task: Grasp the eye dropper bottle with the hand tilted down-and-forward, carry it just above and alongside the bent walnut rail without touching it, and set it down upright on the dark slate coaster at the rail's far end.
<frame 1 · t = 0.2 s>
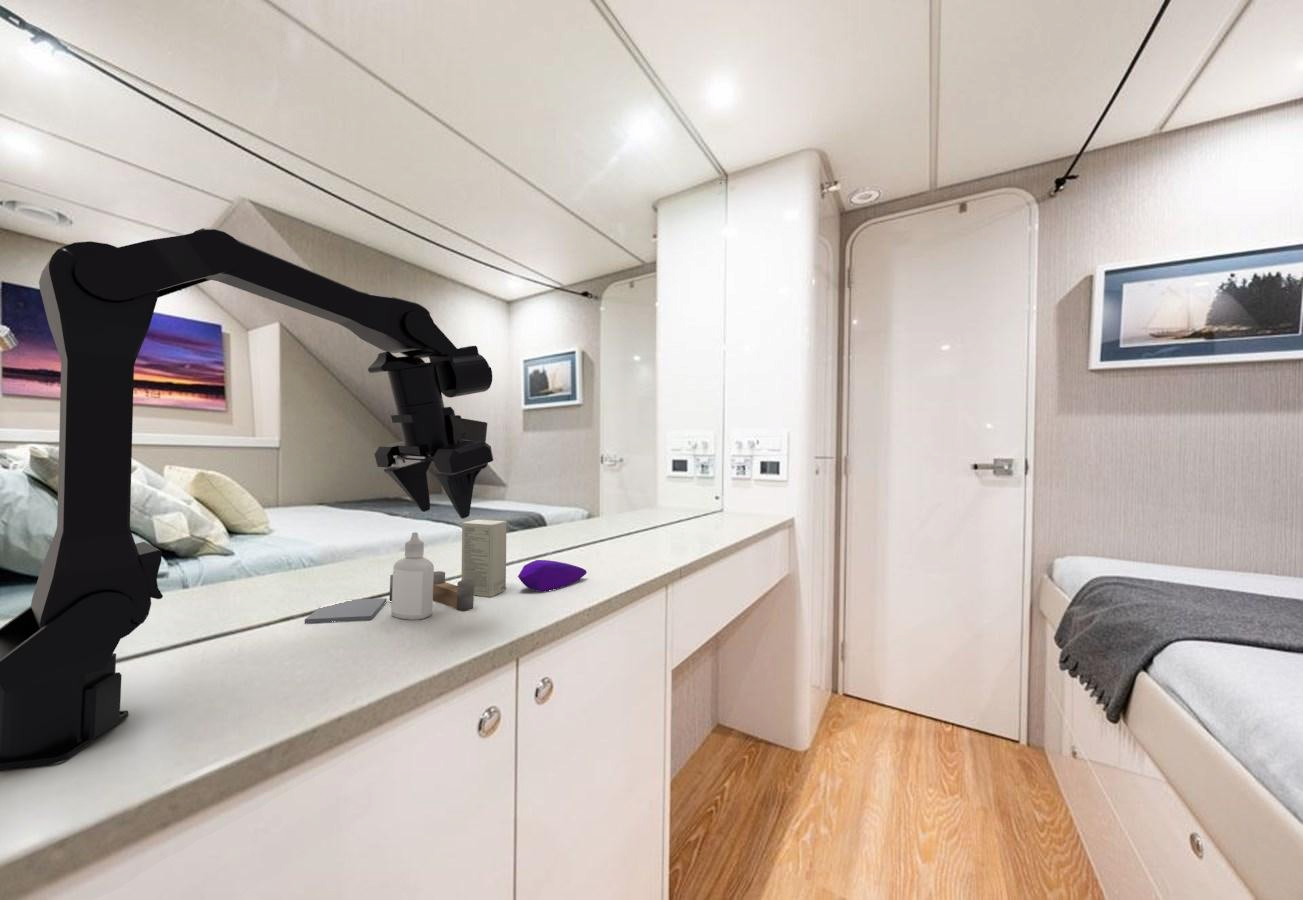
hand: (445, 513, 65), 15 cm above the worktop, tool tilted 15°, fingers open, 9 cm apart
coaster: (348, 612, 68), on the worktop
eye dropper bottle: (411, 617, 68), on the worktop
rail: (436, 597, 76), on the worktop
skincare box: (482, 593, 80), on the worktop
purple faceted pebble: (553, 587, 85), on the worktop
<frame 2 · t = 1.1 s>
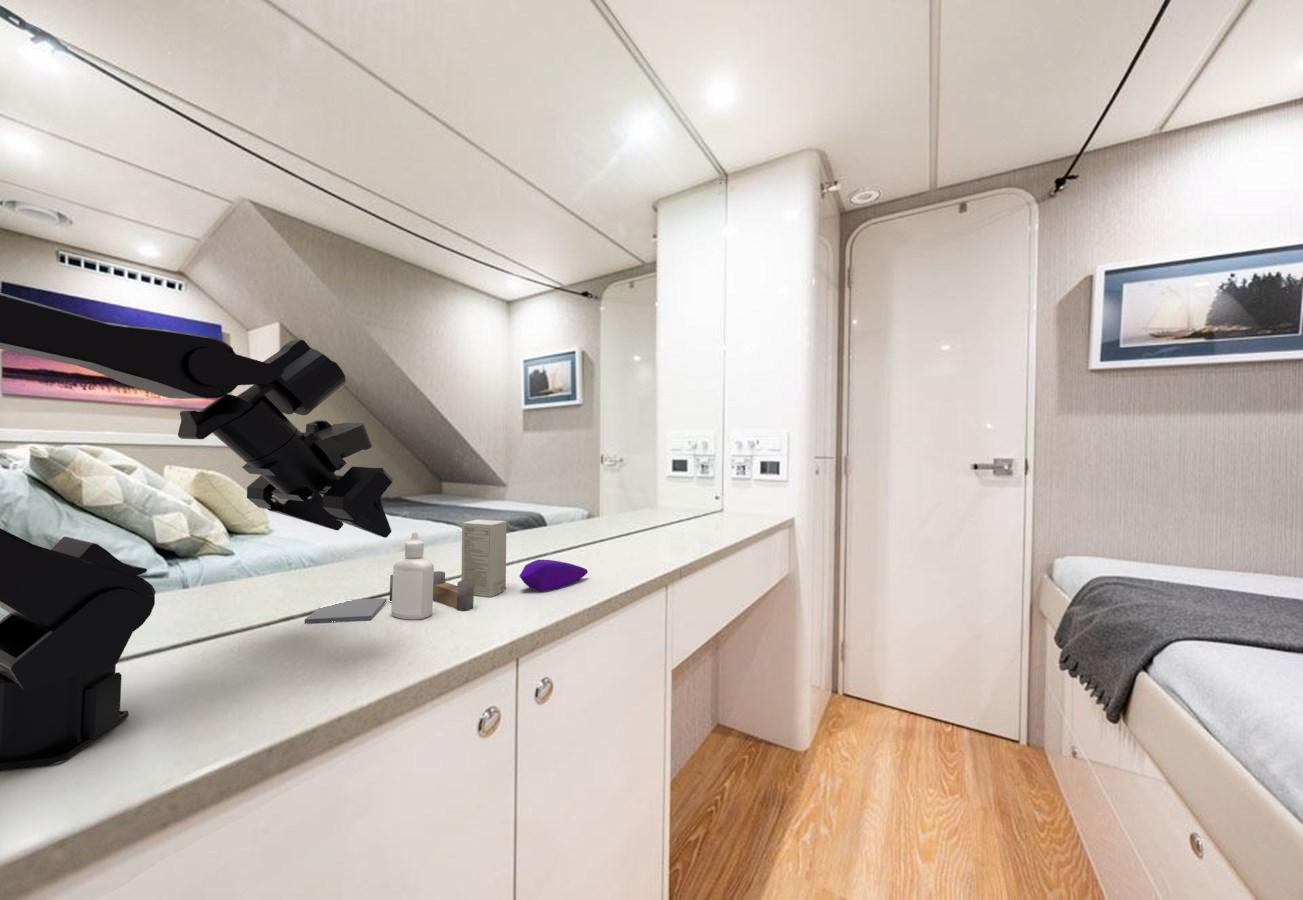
hand: (363, 531, 61), 13 cm above the worktop, tool tilted 45°, fingers open, 9 cm apart
nothing on the worktop moved.
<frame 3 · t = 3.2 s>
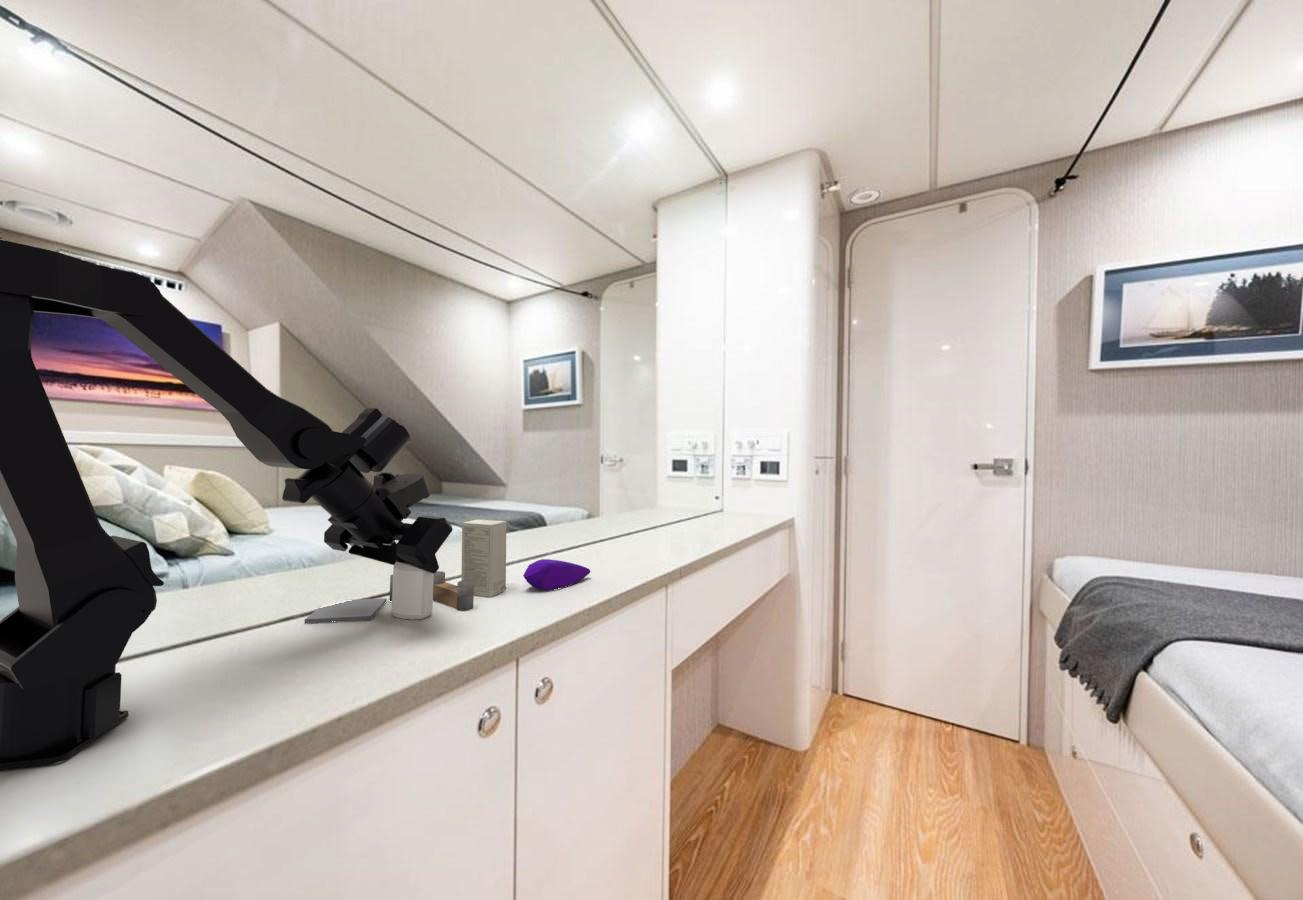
hand: (421, 567, 69), 7 cm above the worktop, tool tilted 45°, fingers closed on eye dropper bottle, 6 cm apart
eye dropper bottle: (411, 616, 68), on the worktop, touching gripper
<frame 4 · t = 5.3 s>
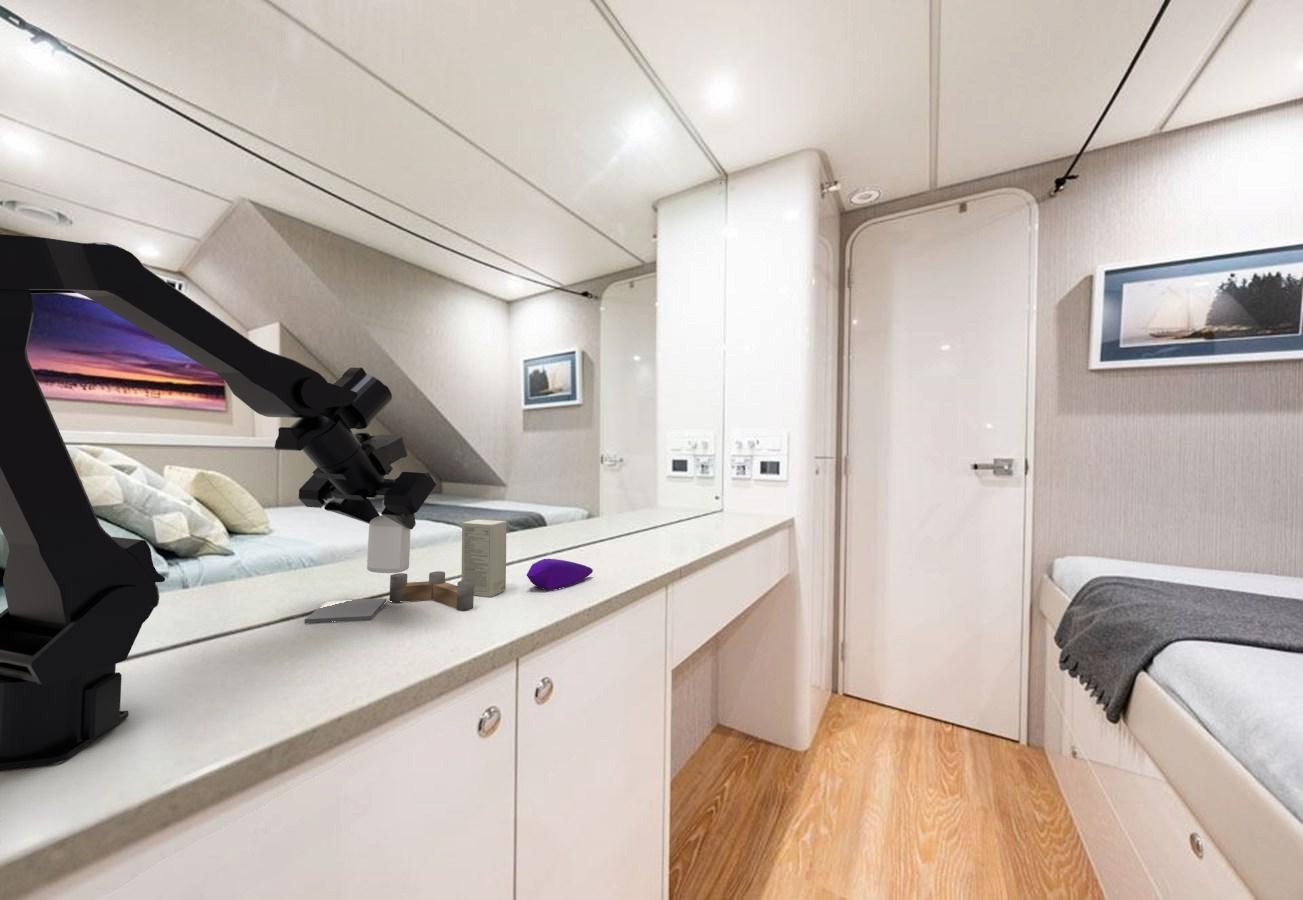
hand: (396, 525, 72), 12 cm above the worktop, tool tilted 45°, fingers closed on eye dropper bottle, 6 cm apart
eye dropper bottle: (388, 571, 71), point 5 cm above the worktop, touching gripper
when the fingers open (8 cm above the worktop, at t = 7.5 s): eye dropper bottle stays where it is, resting on coaster.
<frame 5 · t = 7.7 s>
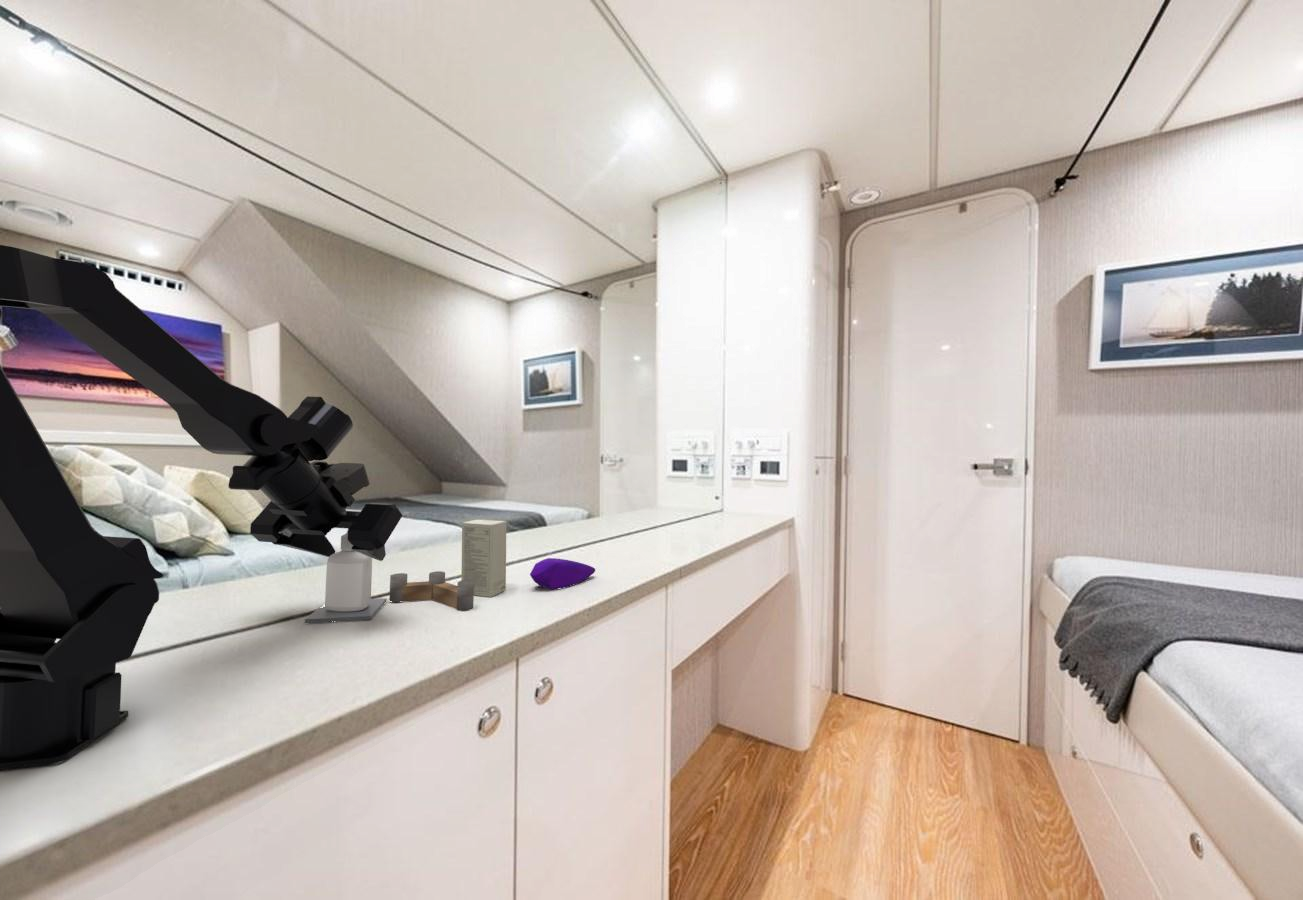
hand: (357, 556, 70), 8 cm above the worktop, tool tilted 45°, fingers open, 8 cm apart
eye dropper bottle: (347, 609, 68), resting on coaster
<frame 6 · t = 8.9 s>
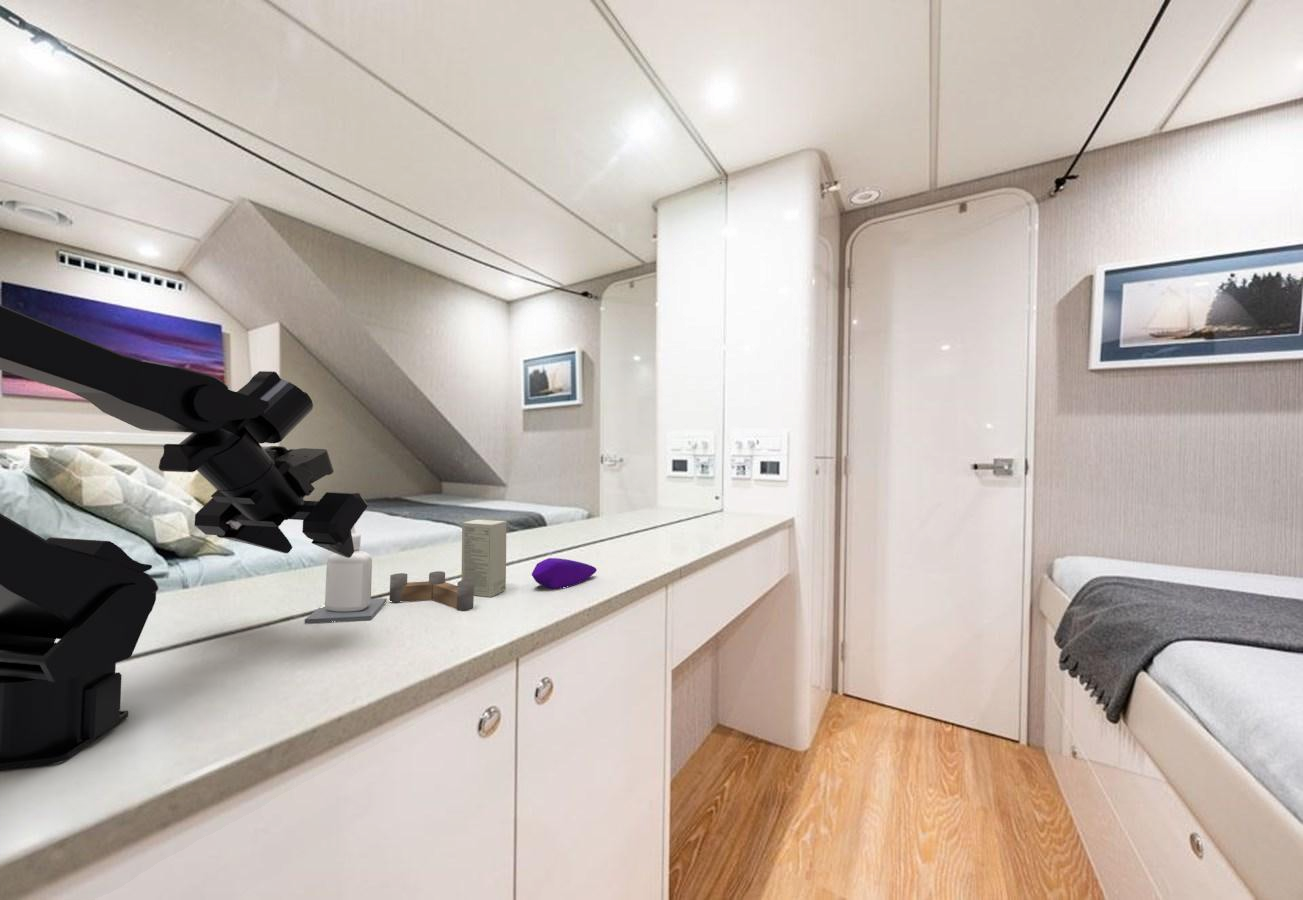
hand: (319, 552, 63), 10 cm above the worktop, tool tilted 45°, fingers open, 9 cm apart
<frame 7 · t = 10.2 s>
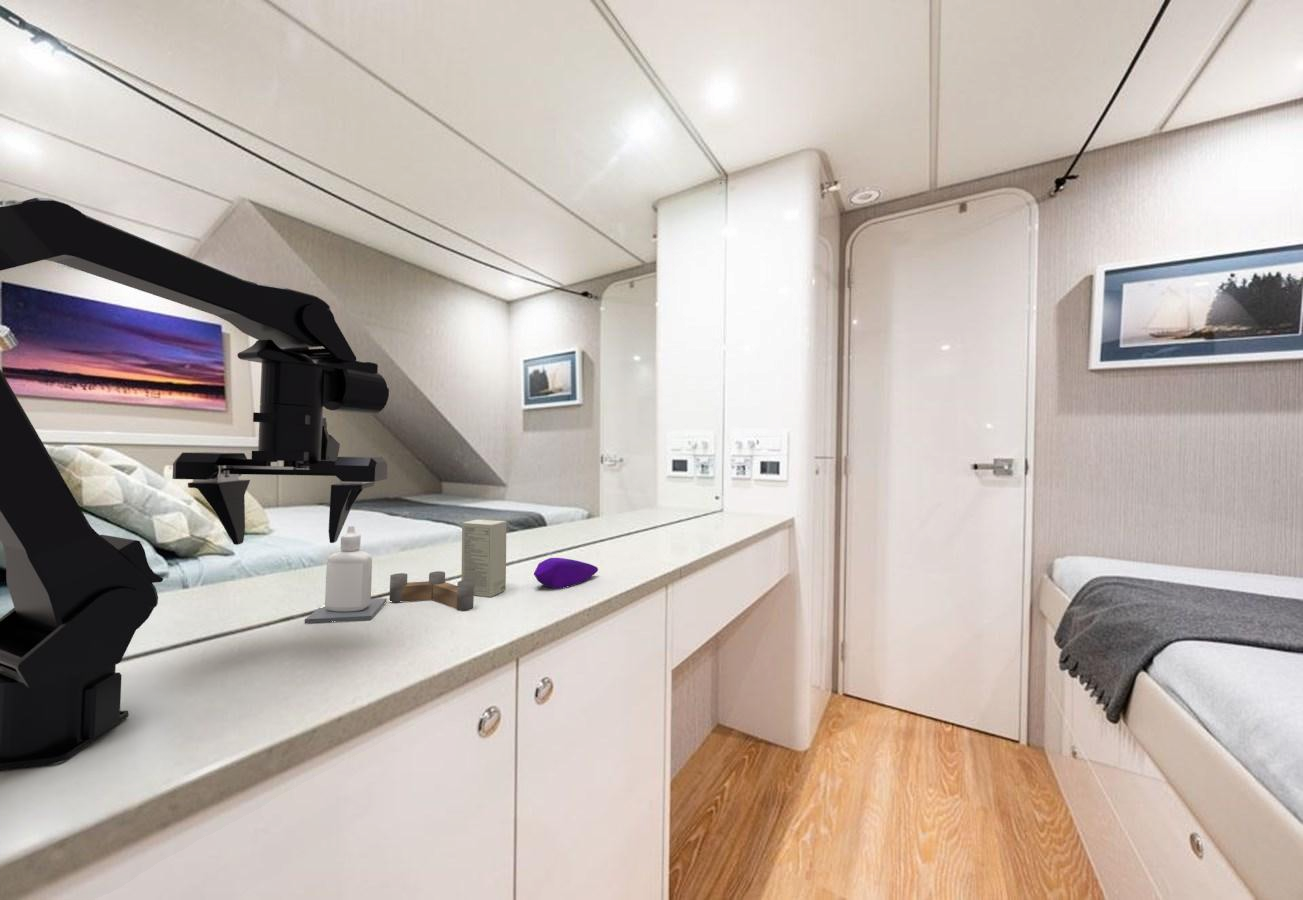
hand: (287, 543, 53), 13 cm above the worktop, tool pointing down, fingers open, 9 cm apart
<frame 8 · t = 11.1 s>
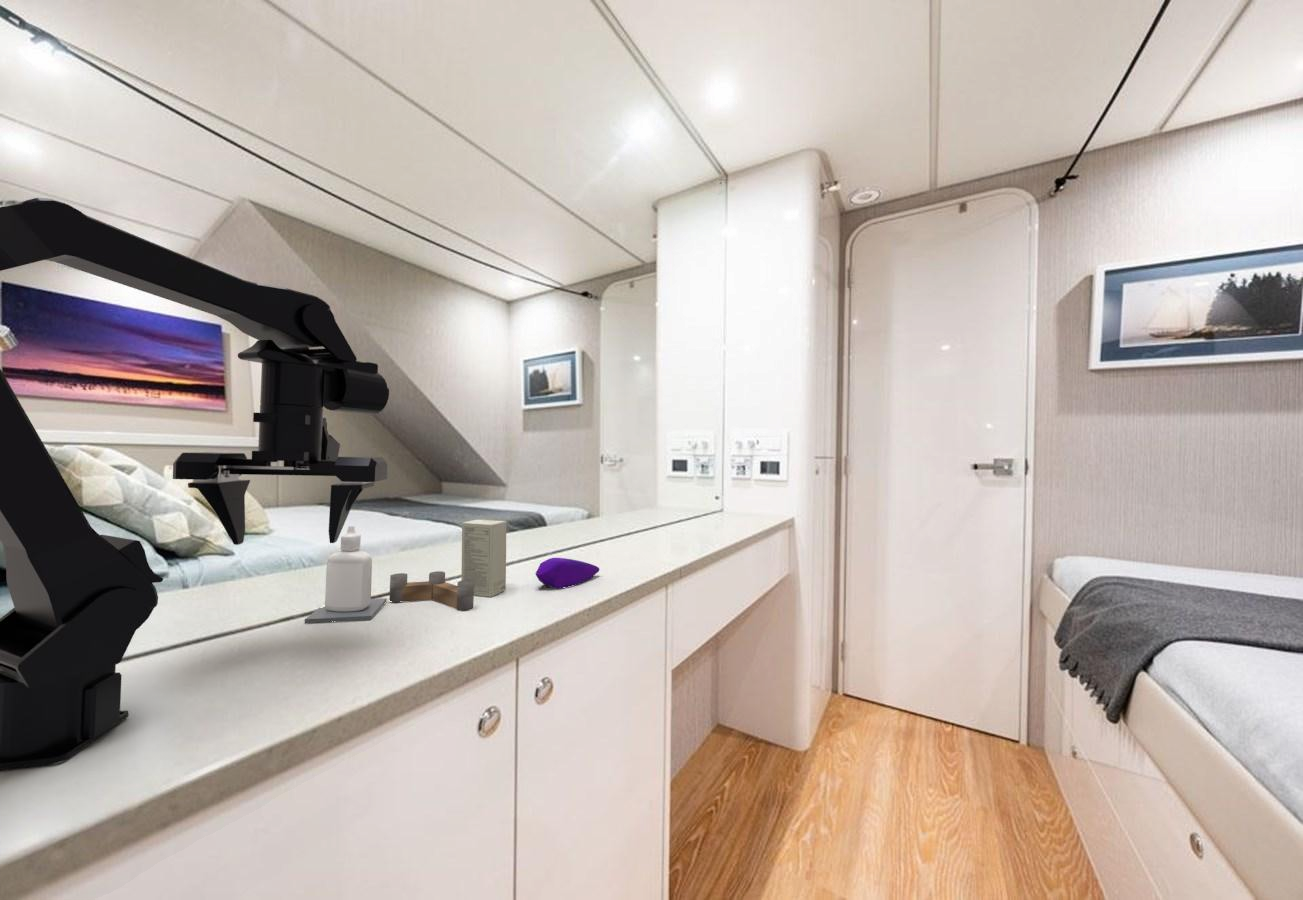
hand: (287, 543, 53), 13 cm above the worktop, tool pointing down, fingers open, 9 cm apart
at the end: eye dropper bottle inside the target area (0.2 cm from its centre), resting on coaster; eye dropper bottle tilted 0°; eye dropper bottle touching coaster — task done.
